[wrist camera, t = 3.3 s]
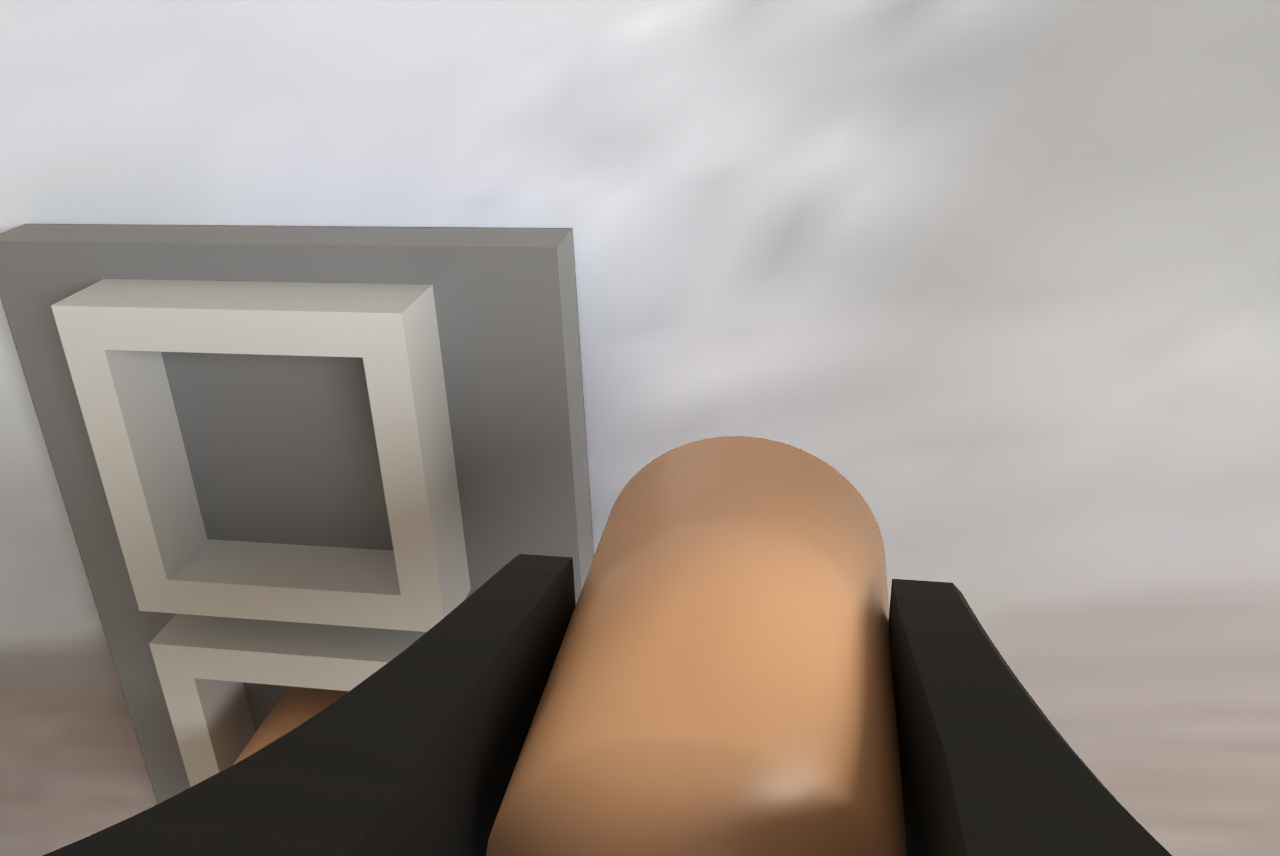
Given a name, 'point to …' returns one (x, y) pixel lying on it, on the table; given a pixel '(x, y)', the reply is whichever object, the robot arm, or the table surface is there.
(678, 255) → the table surface
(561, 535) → the housing
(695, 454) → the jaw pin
